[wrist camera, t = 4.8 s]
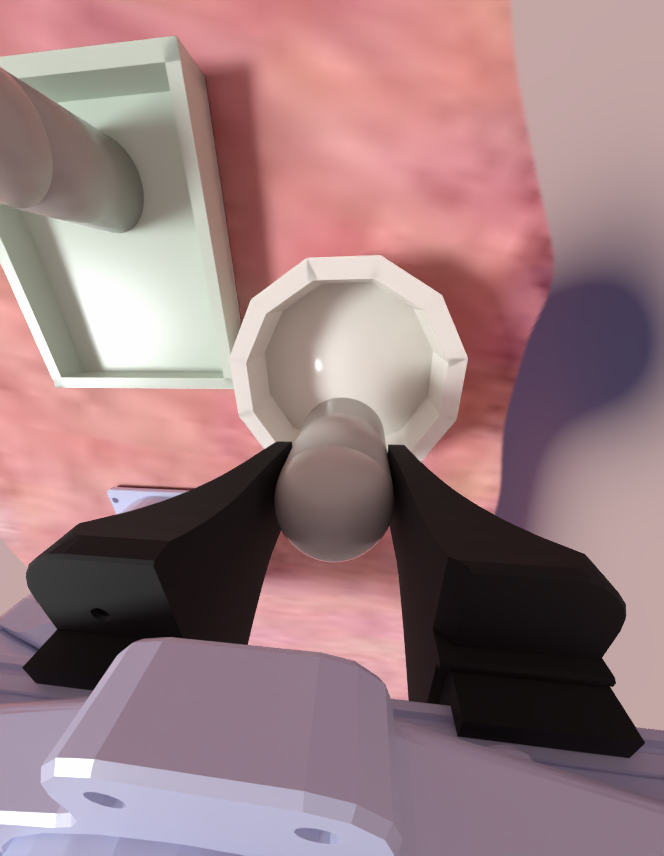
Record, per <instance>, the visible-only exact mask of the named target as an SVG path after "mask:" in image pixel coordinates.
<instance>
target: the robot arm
mask: <svg viewBox="0 0 664 856" xmlns="http://www.w3.org/2000/svg"><path fill="white" fill-rule="evenodd" d="M291 449H292V442H285V441H277V442H275V443H273V444H272V445H270V446H269V447H267V448H265V449H264V450H262V451H261V452H259V453H258V454H256V455H255V456H253V457H252V458H250V459H249V460H247V461H246V462H244V463H242V464H241V465H239V466H237V467H236V468H234V469H232V470H231V471H229V472H227V473H225V474H224V475H222V476H220V477H218V478H216V479H214V480H212V481H210V482H208V483H206V484H204V485H202V486H199V487H197V488H195V489H192V490H170V489H148V488H126V487H112V488H111V489H109V490H108V492H107V493H108V496H109V499H110V501H111V503H112V505H113V508H114V510H115V512H116V514H117V515H112V516H108V517H104V518H100V519H96V520H92V521H88V522H83V523H79V524H78V525H76V526H75V527H74V528H73V529H71V530H70V531H69V532H68V533H66V534H65V535H64V536H63V537H62V538H60V539H59V540H58V541H57V542H55V543H54V544H53V545H52V546H50V547H49V548H48V549H47V550H45V551H44V552H43V553H42V554H40V555H39V556H38V557H37V558H35V559H34V560H33V561H32V562H31V563H30V564H29V566H28V569H27V572H26V579H27V584H28V588H29V589H30V591H31V593H30V594H29V595H27V596H26V597H25V598H24V599H22V600H21V601H20V602H18V603H17V604H16V605H14V606H13V607H12V608H10V609H9V610H8V611H7V612H5V613H4V614H3V615H1V616H0V856H664V731H662V730H653V729H645V728H636V727H635V726H634V724H633V723H632V721H631V719H630V718H629V716H628V715H627V713H626V711H625V710H624V708H623V707H622V705H621V703H620V702H619V701H618V699H617V697H616V696H615V694H614V692H613V691H612V689H611V688H610V686H612V687H613V686H614V685H615V684H616V681H615V677H614V676H613V674H612V673H611V671H610V669H609V668H608V667H607V665H606V664H605V662H604V661H603V659H602V657H603V656H604V654H605V652H606V651H607V649H608V648H609V646H610V645H611V644H612V642H613V641H614V640H615V638H616V637H617V635H618V634H619V632H620V630H621V628H622V626H623V624H624V621H625V618H626V604H625V602H624V601H623V599H622V598H621V596H620V594H619V593H618V591H617V590H616V589H615V588H614V587H613V586H612V585H611V583H609V581H608V580H607V579H606V578H605V576H604V575H603V574H602V573H601V572H600V571H599V570H598V569H597V567H596V566H595V565H594V564H593V563H592V562H591V560H590V559H589V558H588V557H587V556H586V555H585V554H583V553H580V552H578V551H575V550H573V549H570V548H568V547H565V546H563V545H560V544H557V543H555V542H552V541H550V540H547V539H544V538H542V537H540V536H537V535H535V534H533V533H531V532H528V531H526V530H524V529H522V528H520V527H517V526H515V525H513V524H511V523H509V522H507V521H505V520H503V519H501V518H499V517H497V516H495V515H494V514H492V513H490V512H488V511H487V510H485V509H483V508H481V507H479V506H478V505H476V504H474V503H473V502H471V501H470V500H468V499H467V498H465V497H464V496H462V495H461V494H459V493H458V492H456V491H455V490H453V489H452V488H451V487H449V486H448V485H447V484H445V483H444V482H443V481H442V480H441V479H439V478H438V477H437V476H436V475H435V474H433V473H432V472H431V471H430V470H429V469H428V468H427V467H426V466H425V465H424V464H422V463H421V462H420V461H419V460H418V459H417V458H416V457H415V456H414V455H413V453H412V452H411V451H410V450H409V449H408V448H407V447H406V446H405V445H392V444H388V459H389V466H390V472H391V478H392V484H393V491H394V510H393V515H392V519H391V522H390V530H391V535H392V540H393V545H394V550H395V555H396V560H397V567H398V574H399V584H400V595H401V606H402V617H403V629H404V642H405V655H406V668H407V682H408V697H409V701H404V700H395V699H391V698H390V696H389V693H388V690H387V688H386V685H385V684H384V683H383V682H382V680H381V679H380V678H379V677H378V676H376V675H375V674H373V673H372V672H370V671H369V670H367V669H366V668H364V667H363V666H361V665H360V664H358V663H357V662H355V661H352V660H349V659H345V658H341V657H337V656H333V655H329V654H325V653H320V652H311V651H301V650H291V649H281V648H272V647H262V646H252V645H248V641H249V637H250V632H251V628H252V624H253V620H254V616H255V612H256V608H257V604H258V600H259V596H260V592H261V588H262V585H263V581H264V578H265V574H266V570H267V567H268V563H269V560H270V557H271V554H272V551H273V549H274V546H275V544H276V541H277V539H278V536H279V534H280V531H281V528H280V526H279V524H278V521H277V517H276V514H275V507H274V494H275V488H276V483H277V480H278V478H279V475H280V472H281V470H282V468H283V466H284V464H285V462H286V460H287V458H288V455H289V453H290V451H291Z"/></svg>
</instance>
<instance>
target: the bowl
mask: <svg viewBox="0 0 664 856" xmlns="http://www.w3.org/2000/svg"><path fill="white" fill-rule="evenodd" d="M467 361H468V357H467V354H466V352H465V350H464V347H463V345H462V342H461V340H460V338H459V335H458V333H457V330H456V328H455V325H454V323H453V321H452V318H451V316H450V313H449V311H448V309H447V306H446V304H445V301H444V299H443V296H442V295H441V294H440V293H438V292H437V291H435V290H434V289H432V288H430V287H429V286H427V285H426V284H424V283H423V282H421V281H420V280H418V279H417V278H415V277H413V276H412V275H410V274H409V273H407V272H406V271H404V270H403V269H401V268H400V267H398V266H396V265H395V264H393V263H392V262H390V261H389V260H387V259H386V258H384V257H383V256H381V255H369V256H343V257H316V258H306V259H305V260H303V261H302V262H301V263H299V264H298V265H296V266H295V267H294V268H292V269H291V270H290V271H288V272H287V273H286V274H284V275H283V276H282V277H280V278H279V279H278V280H276V281H275V282H274V283H272V284H271V285H270V286H268V287H267V288H266V289H264V290H263V291H261V292H260V293H259V294H257V295H256V296H255V297H253V298H252V299H251V301H250V303H249V306H248V309H247V311H246V314H245V317H244V319H243V322H242V325H241V327H240V330H239V333H238V335H237V338H236V341H235V343H234V346H233V349H232V351H231V354H230V357H229V362H230V368H231V374H232V380H233V385H234V391H235V397H236V403H237V408H238V414H239V417H240V418H241V419H242V420H243V422H244V423H245V424H246V426H247V427H248V428H249V430H250V431H251V432H252V434H253V435H254V436H255V437H256V439H257V440H258V441H259V443H260V444H261V445H262V447H263V448H264V449H265V448H267V447H269V446H270V445H272V444H273V443H275V442H277V441H285V442H292V447H293V445H294V443H295V440H296V438H297V436H298V434H299V432H300V430H301V428H302V426H303V423H304V421H305V419H306V417H307V416H308V414H309V413H310V411H311V410H312V409H313V408H314V407H316V406H317V405H318V404H320V403H322V402H324V401H326V400H329V399H333V398H351V399H355V400H358V401H361V402H363V403H364V404H366V405H368V406H369V407H370V408H372V409H373V410H374V411H375V413H376V414H377V415H378V417H379V418H380V420H381V422H382V425H383V429H384V434H385V441H386V447H387V453H388V444H392V445H405V446H406V447H407V448H408V449H409V450H410V451H411V452H412V453H413V455H414V456H415V457H416V458H417V459H418V460H419V461H420V462H422V460H423V459H424V458H425V457H426V456H427V454H428V453H429V452H430V451H431V450H432V448H433V447H434V446H435V445H436V444H437V443H438V441H439V440H440V439H441V438H442V437H443V435H444V434H445V433H446V432H447V431H448V429H449V428H450V427H451V426H452V425H453V424H454V422H455V421H456V420H457V416H458V411H459V405H460V400H461V394H462V389H463V383H464V377H465V372H466V366H467Z"/></svg>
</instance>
